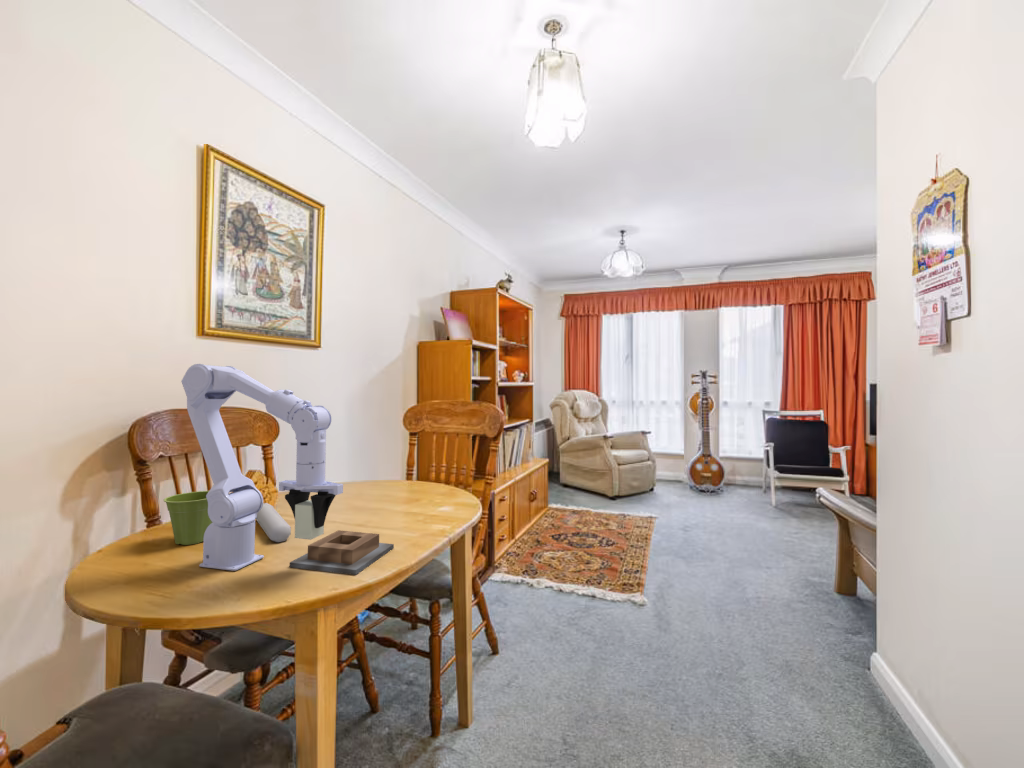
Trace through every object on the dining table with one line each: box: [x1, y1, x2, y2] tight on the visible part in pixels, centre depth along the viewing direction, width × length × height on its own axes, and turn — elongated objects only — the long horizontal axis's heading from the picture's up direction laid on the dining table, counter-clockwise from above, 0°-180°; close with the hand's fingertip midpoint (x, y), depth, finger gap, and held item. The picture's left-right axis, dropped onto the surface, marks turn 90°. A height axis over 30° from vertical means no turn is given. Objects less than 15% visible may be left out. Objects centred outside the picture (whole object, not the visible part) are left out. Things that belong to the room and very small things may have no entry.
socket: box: [289, 529, 395, 576], centre depth 100 cm, size 16×16×4 cm
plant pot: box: [163, 490, 213, 546], centre depth 110 cm, size 12×12×11 cm
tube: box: [255, 502, 292, 543], centre depth 119 cm, size 5×5×25 cm
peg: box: [294, 499, 325, 541], centre depth 94 cm, size 4×4×7 cm
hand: (310, 525), depth 94 cm, fingers closed on peg, 4 cm apart
